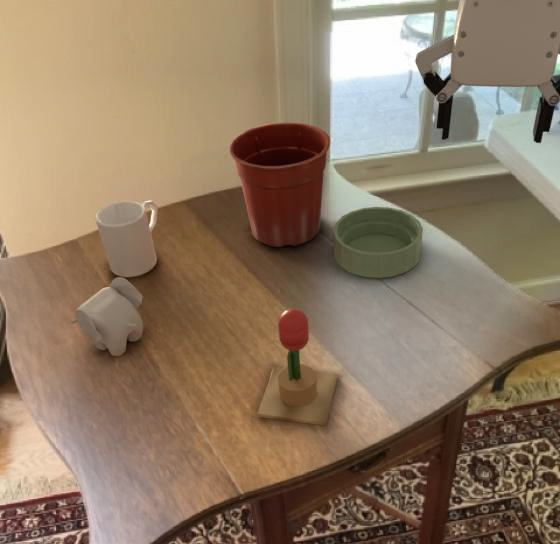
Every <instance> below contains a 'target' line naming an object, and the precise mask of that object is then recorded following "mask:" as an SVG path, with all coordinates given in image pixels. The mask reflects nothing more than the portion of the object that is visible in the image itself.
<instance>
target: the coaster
mask: <svg viewBox="0 0 560 544" xmlns="http://www.w3.org/2000/svg"><path fill="white" fill-rule="evenodd" d="M284 368H285V367H281V366H273V368H272V371H271V373H270V376H269V380H268V383H267V385H266V388H265V391H264V393H263V397H262V399H261V403H260V406H259V409H258V411H257V417H258V418H265V419H271V420H279V421H288V422H295V423H303V424H309V425H317V426H327V423H328V419H329V415H330V411H331V407H332V403H333V399H334V395H335V392H336V391H335V390H336V387H337V383H338V379H339V373H334V372H325V371H315V370H314V371H315V373H316V381H317V396H316V398H315V399H314V401H313V402H311V403H310V404H308V405H306V406H302V407H293V406H289V405H287V404H285V403H284V402H283V401H282V400H281V398H280V395H279V386H278V375H279V373H280V371H281V370H282V369H284Z"/></svg>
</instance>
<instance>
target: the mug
mask: <svg viewBox="0 0 560 544" xmlns="http://www.w3.org/2000/svg"><path fill="white" fill-rule="evenodd" d="M148 208H149V209H150V210H151V216H150V222H149V219H148V215H147V210H146V209H148ZM158 211H159V206H158V205H156V204H155V202H153V200H145V201H143V202H142V203H139V202H137V201H134V200H120V201H114V202H112V203H109V204H107V205H105V206H103V207H102V208H100V209H99V210H98V211H97V213H96V214H95V217H94V218H95V219H94V220H95V223H96V226H97V229H98V233H99V236H100V240H101V242H102V246H103V249H104V252H105V257H106V259H107V262H108V266H109V270H110V272H112V273H113V274H114V275H116V276H117V277H122V278H133V277H139V276H142V275H144V274H146V273H148V272H150V271H151V270H152V269H153V268H154V267H155V266H156V265H157V261H158V256H157V254H156V247H155V243H154V240H153V236H152V232H153V231H154V229H155V227H156V225H157V221H158Z"/></svg>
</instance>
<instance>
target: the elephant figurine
mask: <svg viewBox="0 0 560 544" xmlns="http://www.w3.org/2000/svg"><path fill="white" fill-rule="evenodd" d="M142 301H143V294H142V293H141V292H140V291H139V290H138V289H137V288H136V287H135V286H134V285H133V284H132V283H131V282H130V281H128V280H127V279H126V277H122V276H117V277H115V278H114V279H112V281H111V282H110V284H109V286H105V287H103V288H101V289H100V290H98V291H97V292H96V293H95V294H94V295H92V296H91V297H90V298H88V299H87V300H86V301H85V302H84V303H82V304H80V305H79V306H78V307H77V308H76V309H74V312H75V317H76V318H75V319H74V320H71V321H70V324H76V323H78V326H79V327H80V329H81V332H82V334H83V336H84V337H89V339H90V341H91V342H92V343H93V345H94V346H95V347H96V349H98V350H100V351H106V350H108V352H109V353H110V355H112V357H120V356H122V355H123V354H125V352H126V350H127V341H129V342H137V341H139V340H140V339H141V338H142V336H143V332H144V322H143V320H142V317H141V315H140V313H139V312H138V311H137V309H138V308H139V306H141V305H142Z"/></svg>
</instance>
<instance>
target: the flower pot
mask: <svg viewBox="0 0 560 544" xmlns="http://www.w3.org/2000/svg"><path fill="white" fill-rule="evenodd" d="M330 145H331V137H330V135H329V134H328V133H327V132H326V131H325V130H324V129H322V128H320V127H317V126H314V125H312V124H306V123H301V122H275V123H269V124H262V125H257V126H255V127H252V128H249V129H247V130H245V131H243V132H242V133H239V134H238V135H237V136H236V137H234V138H233V140H231V142H230V144H229V147H228V151H229V154H230V156H231V158H232V159H233V162H234V165H235V170H236V174H237V175H238V177H239V180H240V184H241V188H242V193H243V196H244V201H245V206H246V210H247V215H248V219H249V224H250V228H251V229H250V230H251V233H252V236H253V238H254V239H255V240H257V242H259V243H261V244H263V245H265V246H268V247H274V248H283V247H284V246H292V247H296V246H300V245H303V244H305V243H307V242H309V241H311V240H313V239H314V238H315V237H316V236H317V235H318V233H319V231H320V229H321V217H322V200H323V198H322V197H323V183H324V171H325V168H326V166H327V165H326V164H327V154H328V152H329V149H330V147H331V146H330Z"/></svg>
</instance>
